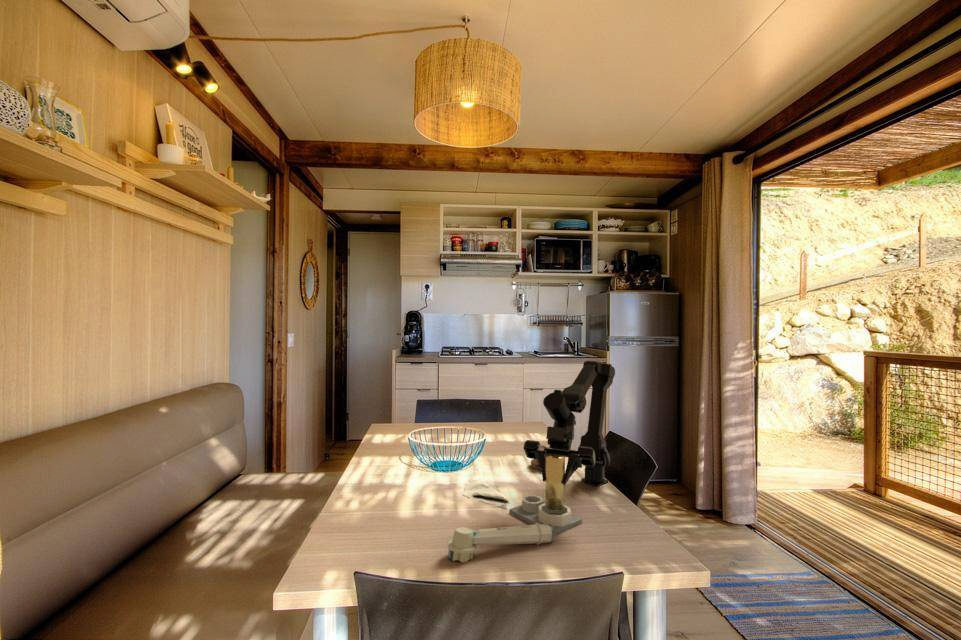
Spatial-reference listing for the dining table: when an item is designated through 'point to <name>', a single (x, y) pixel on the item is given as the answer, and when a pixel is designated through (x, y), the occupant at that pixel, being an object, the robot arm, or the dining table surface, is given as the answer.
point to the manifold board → (544, 514)
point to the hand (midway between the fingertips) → (553, 482)
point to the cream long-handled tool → (496, 538)
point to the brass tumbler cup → (554, 481)
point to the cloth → (483, 493)
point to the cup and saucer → (536, 464)
